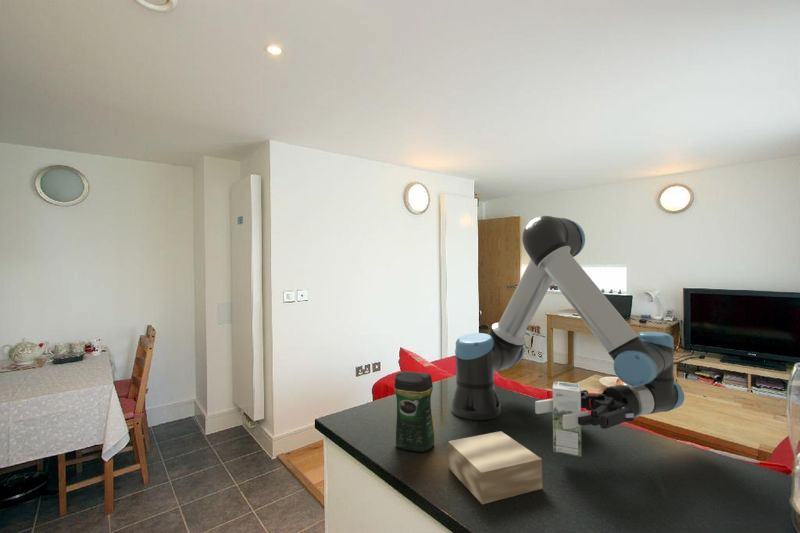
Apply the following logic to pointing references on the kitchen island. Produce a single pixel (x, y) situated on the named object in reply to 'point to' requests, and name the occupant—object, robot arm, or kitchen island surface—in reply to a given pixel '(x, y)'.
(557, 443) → the syrup box
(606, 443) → the kitchen island surface
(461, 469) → the oak plinth
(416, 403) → the coffee jar
